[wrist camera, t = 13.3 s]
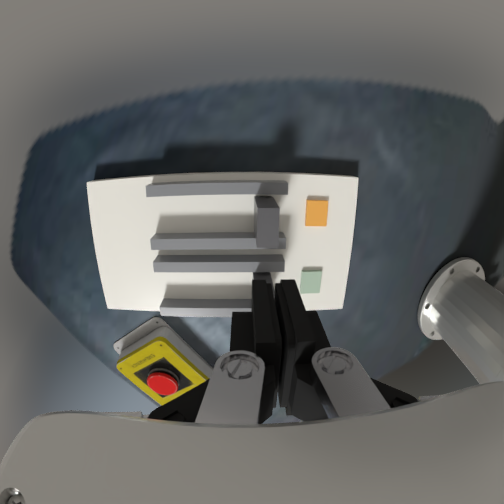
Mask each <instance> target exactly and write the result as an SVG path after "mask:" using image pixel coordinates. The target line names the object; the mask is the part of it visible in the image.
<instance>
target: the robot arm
mask: <svg viewBox="0 0 504 504" xmlns="http://www.w3.org/2000/svg"><path fill="white" fill-rule="evenodd" d="M418 324H419V327H420V329H421V331H422V332H423V333H424V334H425V335H426V336H427V337H428V338H430V339H434V340H440V339H444V340H445V342H446V343H447V344H448V345H449V346H450V347H451V349H452V350H453V351H454V352H455V353H456V355H457V356H458V357H459V358H460V359H461V361H462V362H463V363H464V364H465V366H466V367H467V368H468V369H469V370H470V372H471V373H472V374H473V376H474V377H475V378H476V379H477V381H478V382H479V383H480V385H475V386H471V387H468V388H465V389H462V390H458V391H455V392H451V393H448V394H445V395H440V396H439V395H438V396H422V397H419V399H418V400H417V399H416V398H415V397H413V396H411V395H409V394H407V393H405V392H402V391H400V390H398V389H395V388H393V387H391V386H388V385H386V384H383V383H381V382H379V381H377V380H374V379H372V378H370V377H369V376H368V374H367V373H366V371H365V370H364V369H363V367H362V366H361V364H360V363H359V362H358V360H357V359H356V357H355V356H354V355H353V354H352V353H350V352H349V351H347V350H344V349H341V348H335V347H331V346H330V344H329V341H328V339H327V336H326V334H325V331H324V329H323V326H322V324H321V321H320V319H319V316H318V314H317V312H316V311H315V310H313V311H306V309H305V307H304V304H303V301H302V298H301V295H300V293H299V290H298V287H297V284H296V281H295V279H281V280H280V283H275V294H274V295H273V289H272V284H271V283H266V280H252V306H251V312H232V324H231V341H230V352H228V353H225V354H223V355H222V356H221V357H219V358H218V360H217V361H216V363H215V366H214V369H213V372H212V374H211V377H210V379H208V380H206V381H205V382H203V383H201V384H199V385H198V386H196V387H194V388H193V389H191V390H189V391H187V392H186V393H184V394H182V395H180V396H178V397H177V398H175V399H173V400H171V401H169V402H168V403H166V404H164V405H162V406H160V407H158V408H157V409H155V410H154V411H152V412H151V413H150V415H142V412H94V411H72V410H71V411H57V412H50V413H46V414H42V415H39V416H37V417H35V418H33V419H32V420H31V421H29V422H28V423H27V424H26V425H25V426H24V427H23V429H22V430H21V431H20V433H19V434H18V435H17V437H16V438H15V439H14V441H13V442H12V444H11V446H10V447H9V449H8V451H7V452H6V454H5V456H4V458H3V460H2V462H1V464H0V504H504V295H503V294H501V292H500V291H499V290H496V289H495V288H494V287H492V286H491V285H490V284H488V283H487V282H486V281H485V274H484V270H483V268H482V266H481V265H480V264H479V263H478V262H477V261H475V260H474V259H472V258H468V257H461V258H457V259H455V260H453V261H451V262H449V263H448V264H446V265H445V266H444V267H442V268H441V269H440V270H439V271H438V272H437V273H436V275H435V276H434V277H433V278H432V280H431V281H430V283H429V284H428V286H427V287H426V289H425V291H424V293H423V296H422V298H421V301H420V304H419V308H418ZM277 393H278V396H279V404H280V407H285V408H286V415H294V416H295V417H297V418H299V419H300V420H299V422H292V423H275V424H262V423H263V422H264V421H265V420H267V419H268V418H269V417H270V416H271V415H272V410H273V408H276V401H277Z"/></svg>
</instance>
